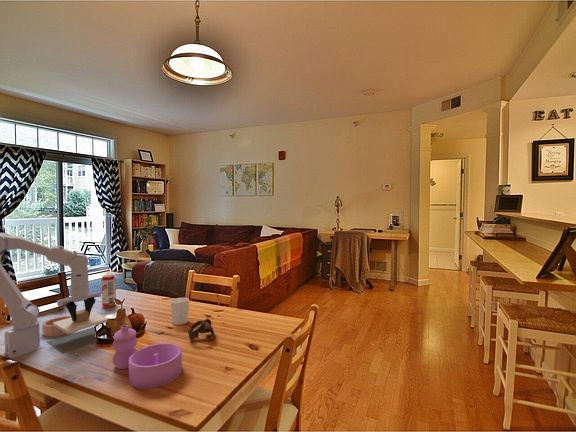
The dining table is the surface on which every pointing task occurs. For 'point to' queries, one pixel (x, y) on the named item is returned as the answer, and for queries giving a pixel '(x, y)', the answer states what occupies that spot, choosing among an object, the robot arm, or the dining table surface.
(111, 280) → the beer can
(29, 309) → the robot arm
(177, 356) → the container set
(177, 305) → the white cup
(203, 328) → the dark brown arched piece
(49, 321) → the bowl
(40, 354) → the dining table surface
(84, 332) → the mat
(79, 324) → the lid
